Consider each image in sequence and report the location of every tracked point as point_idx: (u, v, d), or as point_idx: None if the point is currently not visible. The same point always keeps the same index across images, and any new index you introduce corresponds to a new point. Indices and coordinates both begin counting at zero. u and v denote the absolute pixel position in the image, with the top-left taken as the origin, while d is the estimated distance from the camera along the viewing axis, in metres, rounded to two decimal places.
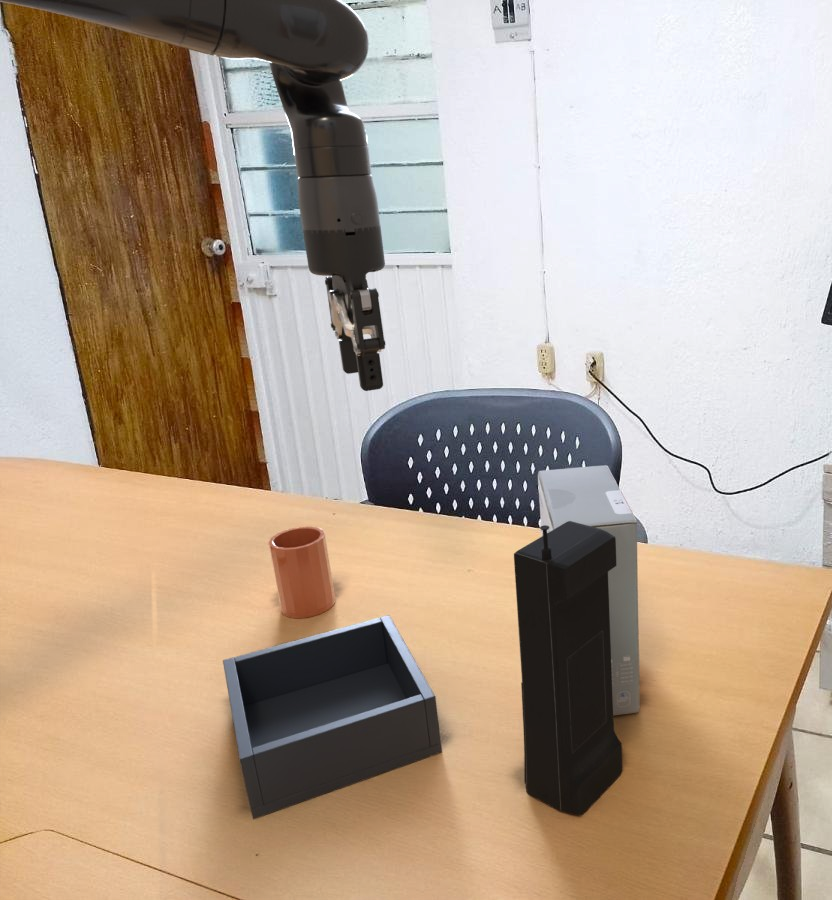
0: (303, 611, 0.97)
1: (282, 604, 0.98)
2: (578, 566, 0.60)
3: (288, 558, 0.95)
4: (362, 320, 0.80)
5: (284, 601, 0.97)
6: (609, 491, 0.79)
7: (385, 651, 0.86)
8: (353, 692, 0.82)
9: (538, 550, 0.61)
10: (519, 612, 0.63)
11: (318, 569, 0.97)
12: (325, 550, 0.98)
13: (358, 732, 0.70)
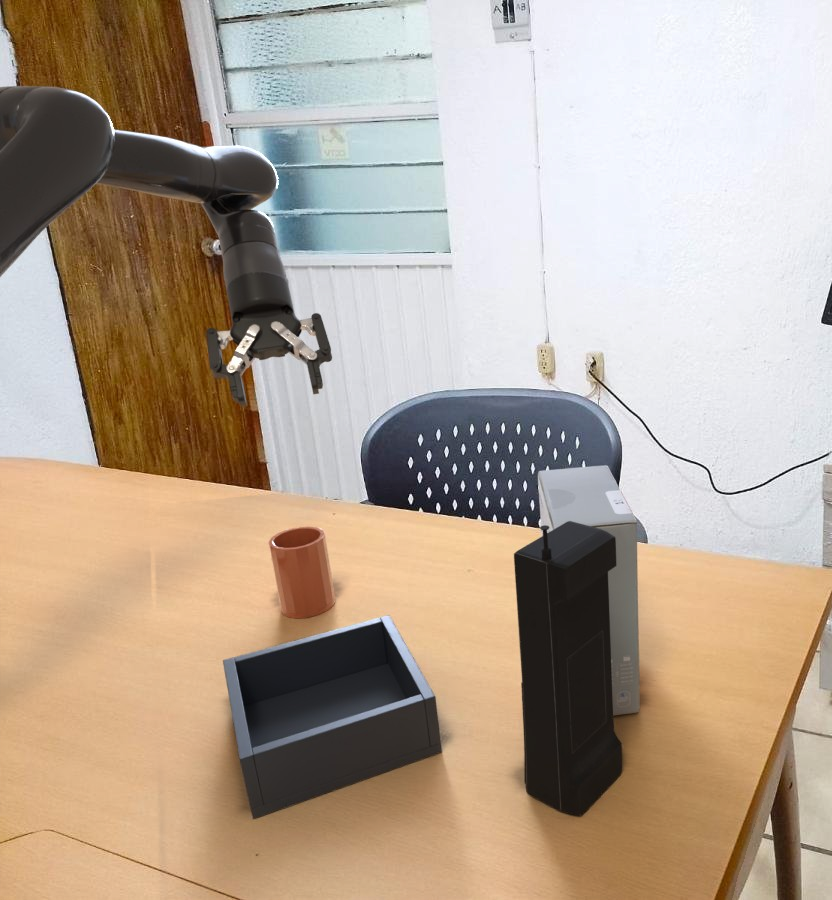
0: (303, 611, 0.97)
1: (282, 604, 0.98)
2: (578, 566, 0.60)
3: (288, 558, 0.95)
4: None
5: (284, 601, 0.97)
6: (609, 491, 0.79)
7: (385, 651, 0.86)
8: (353, 692, 0.82)
9: (538, 550, 0.61)
10: (519, 612, 0.63)
11: (318, 569, 0.97)
12: (325, 550, 0.98)
13: (358, 732, 0.70)
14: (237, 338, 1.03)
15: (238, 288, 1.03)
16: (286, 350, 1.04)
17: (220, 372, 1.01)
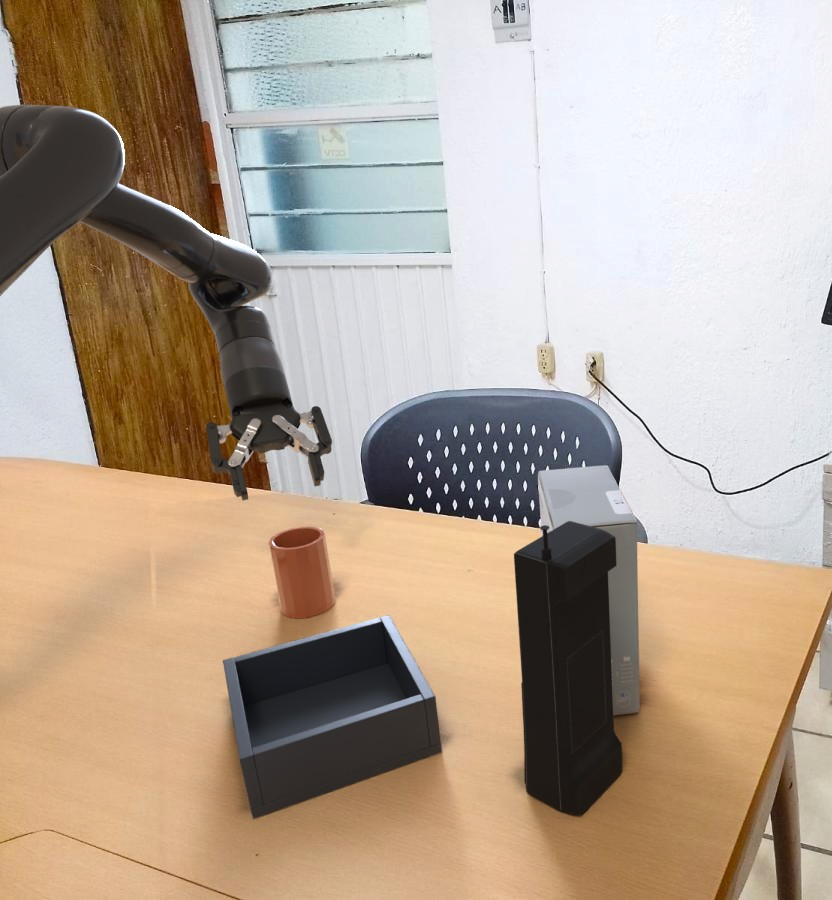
0: (303, 611, 0.97)
1: (282, 604, 0.98)
2: (578, 566, 0.60)
3: (288, 558, 0.95)
4: None
5: (284, 601, 0.97)
6: (609, 491, 0.79)
7: (385, 651, 0.86)
8: (353, 692, 0.82)
9: (538, 550, 0.61)
10: (519, 612, 0.63)
11: (318, 569, 0.97)
12: (325, 550, 0.98)
13: (358, 732, 0.70)
14: (237, 432, 1.03)
15: (239, 383, 1.04)
16: (286, 443, 1.05)
17: (221, 466, 1.00)
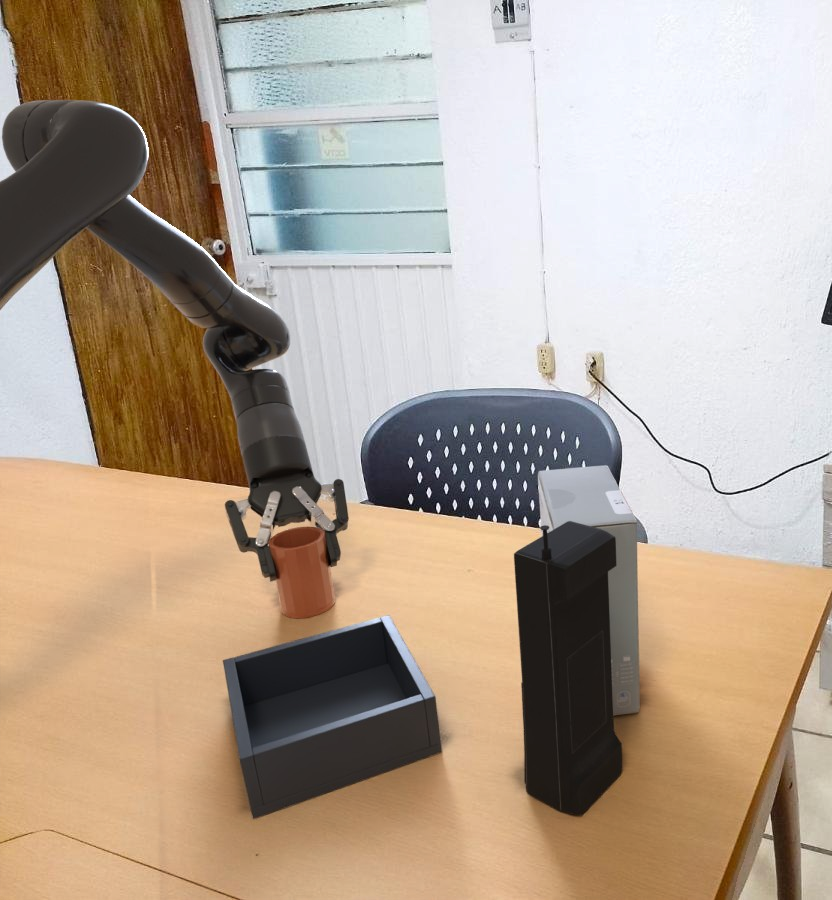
0: (303, 611, 0.97)
1: (282, 604, 0.98)
2: (578, 566, 0.60)
3: (288, 558, 0.95)
4: (345, 501, 1.02)
5: (284, 601, 0.97)
6: (609, 491, 0.79)
7: (385, 651, 0.86)
8: (353, 692, 0.82)
9: (538, 550, 0.61)
10: (519, 612, 0.63)
11: (318, 569, 0.97)
12: (325, 550, 0.98)
13: (358, 732, 0.70)
14: (256, 506, 0.98)
15: (257, 453, 0.99)
16: (307, 515, 1.00)
17: (248, 546, 0.96)
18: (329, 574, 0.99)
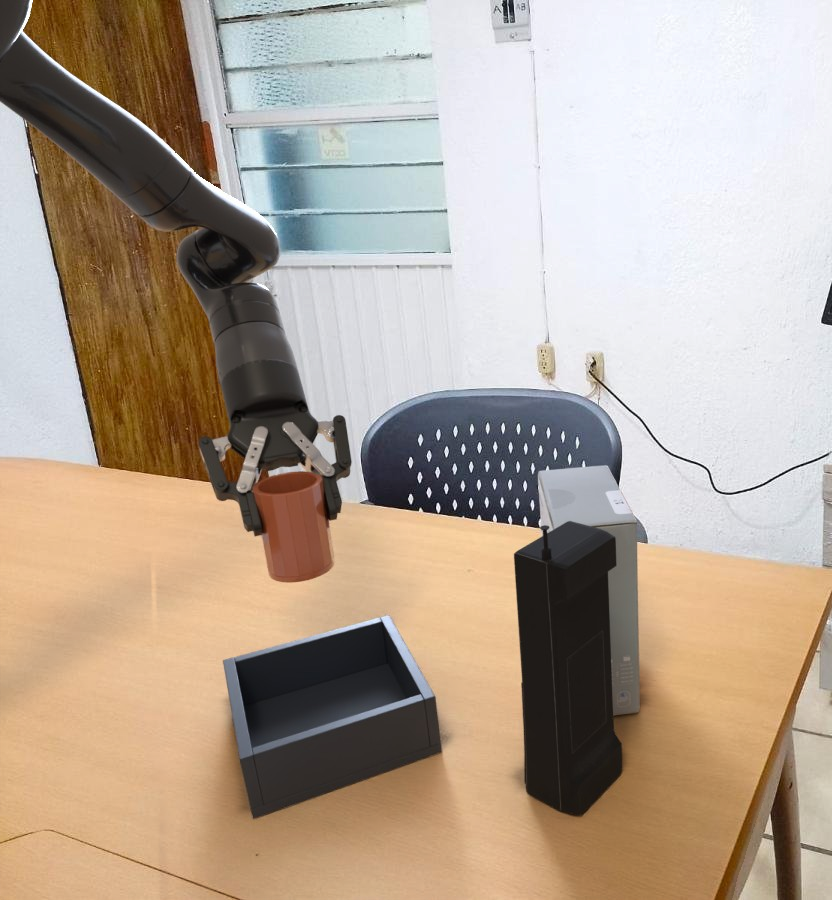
0: (295, 574, 0.79)
1: (269, 565, 0.79)
2: (578, 566, 0.60)
3: (277, 506, 0.76)
4: None
5: (272, 561, 0.79)
6: (609, 491, 0.79)
7: (385, 651, 0.86)
8: (353, 692, 0.82)
9: (538, 550, 0.61)
10: (519, 612, 0.63)
11: (314, 521, 0.78)
12: (322, 499, 0.79)
13: (358, 732, 0.70)
14: (238, 444, 0.79)
15: (240, 380, 0.80)
16: (301, 457, 0.81)
17: (227, 492, 0.77)
18: (327, 529, 0.80)
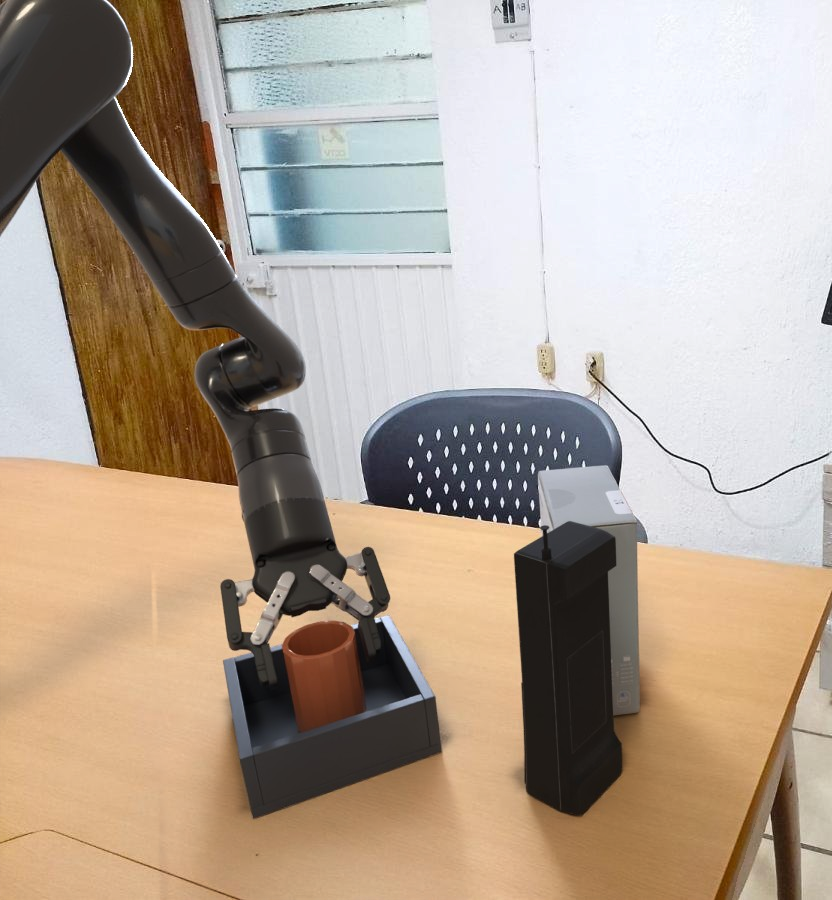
0: None
1: (299, 725, 0.75)
2: (578, 566, 0.60)
3: (308, 669, 0.72)
4: None
5: (302, 722, 0.74)
6: (609, 491, 0.79)
7: (385, 651, 0.86)
8: None
9: (538, 550, 0.61)
10: (519, 612, 0.63)
11: (347, 680, 0.74)
12: (355, 655, 0.75)
13: (358, 732, 0.70)
14: (263, 591, 0.75)
15: (265, 522, 0.76)
16: (329, 602, 0.77)
17: (241, 644, 0.72)
18: (360, 684, 0.76)
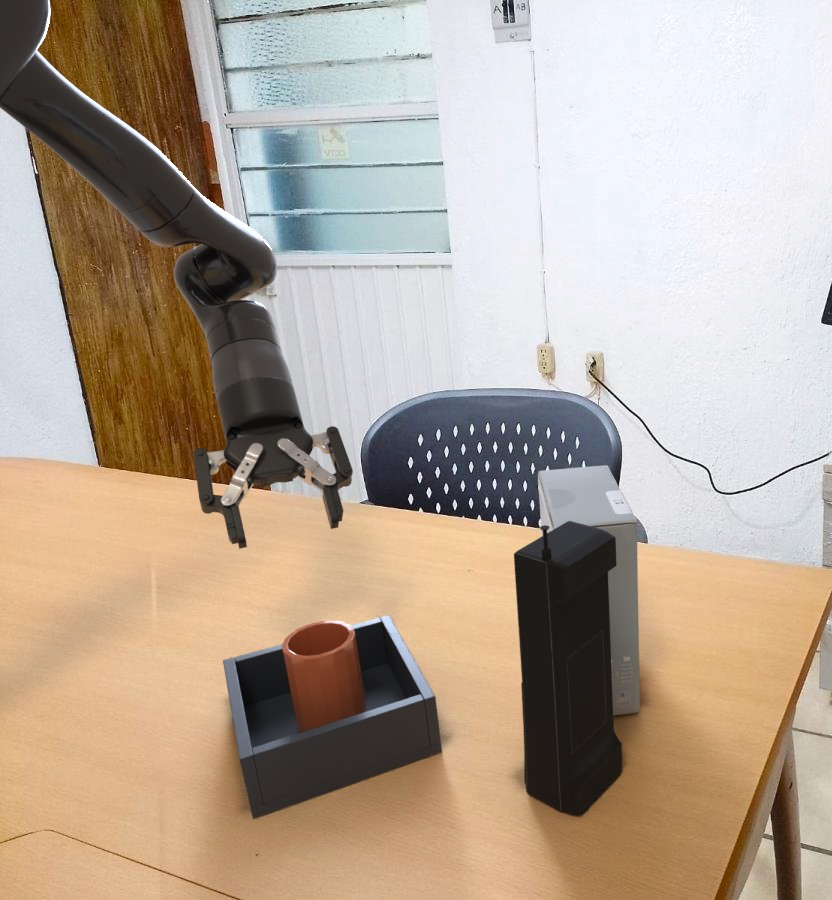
0: None
1: (299, 725, 0.75)
2: (578, 566, 0.60)
3: (308, 669, 0.72)
4: None
5: (302, 722, 0.74)
6: (609, 491, 0.79)
7: (385, 651, 0.86)
8: None
9: (538, 550, 0.61)
10: (519, 612, 0.63)
11: (347, 680, 0.74)
12: (355, 655, 0.75)
13: (358, 732, 0.70)
14: (233, 460, 0.81)
15: (235, 397, 0.82)
16: (296, 473, 0.83)
17: (212, 505, 0.78)
18: (360, 684, 0.76)
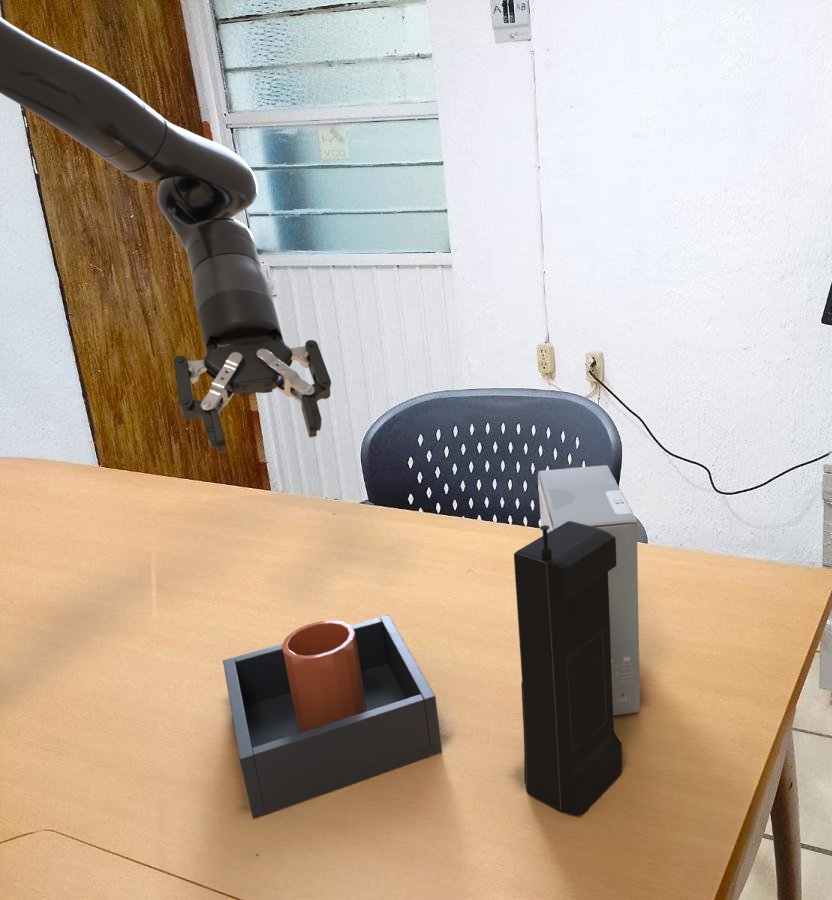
0: None
1: (299, 725, 0.75)
2: (578, 566, 0.60)
3: (308, 669, 0.72)
4: None
5: (302, 722, 0.74)
6: (609, 491, 0.79)
7: (385, 651, 0.86)
8: None
9: (538, 550, 0.61)
10: (519, 612, 0.63)
11: (347, 680, 0.74)
12: (355, 655, 0.75)
13: (358, 732, 0.70)
14: (213, 369, 0.82)
15: (215, 308, 0.83)
16: (275, 383, 0.84)
17: (192, 410, 0.80)
18: (360, 684, 0.76)
